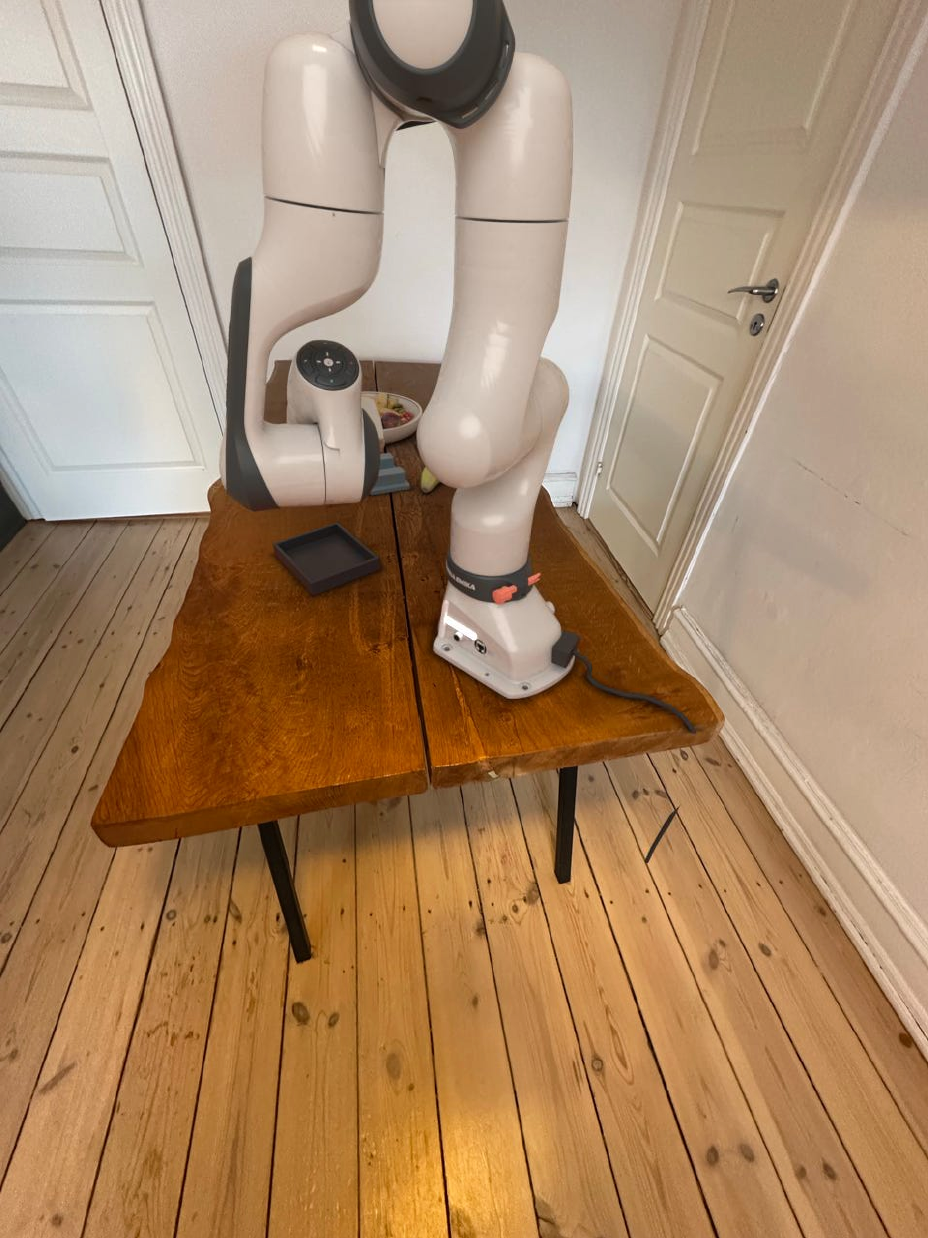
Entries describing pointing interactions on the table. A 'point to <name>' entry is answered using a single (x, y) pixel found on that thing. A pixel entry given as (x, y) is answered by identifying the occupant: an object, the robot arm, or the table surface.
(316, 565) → the tray
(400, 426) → the bowl
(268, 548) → the table surface
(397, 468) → the holder
